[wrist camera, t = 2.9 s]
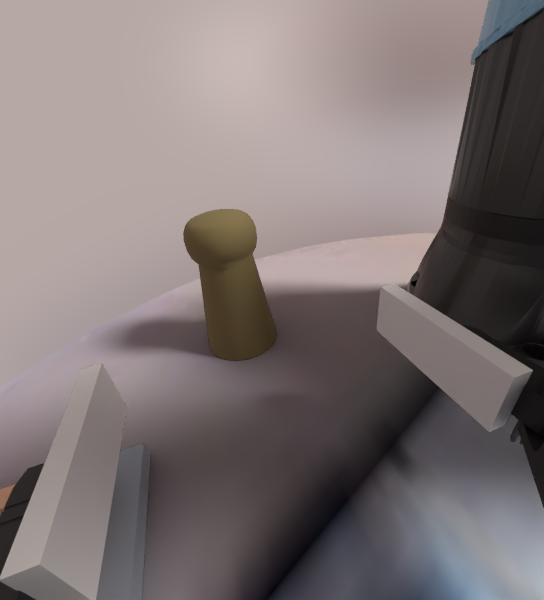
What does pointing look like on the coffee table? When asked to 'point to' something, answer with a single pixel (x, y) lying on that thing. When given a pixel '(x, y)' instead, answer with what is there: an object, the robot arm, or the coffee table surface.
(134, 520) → the pallet plate
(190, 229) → the cork
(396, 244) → the coffee table surface
